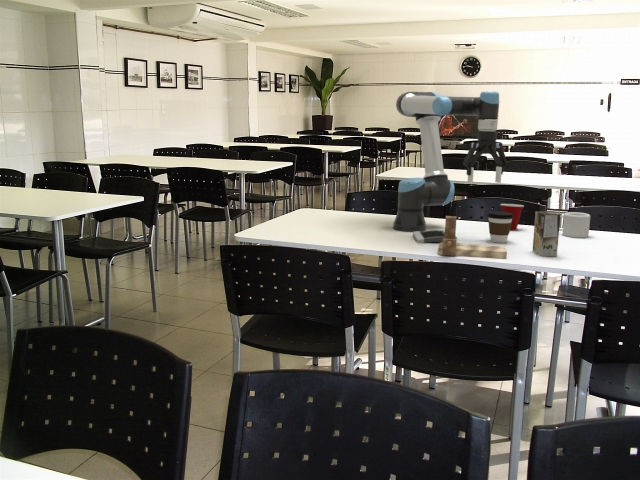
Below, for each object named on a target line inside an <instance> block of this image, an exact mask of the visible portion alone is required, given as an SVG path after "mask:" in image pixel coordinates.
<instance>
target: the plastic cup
mask: <svg viewBox="0 0 640 480" xmlns="http://www.w3.org/2000/svg"><path fill="white" fill-rule="evenodd" d="M499 205H500V208H501V212H509V213H512V214H513V216H514V218H513V219H512V221H511V222H512V223H511V227H510V231H516V230H517V229H518V226H519V223H520V217H521V214H522V211H523V208H524V207H525V205H522V204H515V203H500V204H499Z"/></svg>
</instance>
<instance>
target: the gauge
mask: <svg viewBox="0 0 640 480" xmlns="http://www.w3.org/2000/svg"><path fill="white" fill-rule="evenodd" d="M444 224H445V225H444V226H445V227H444V230H445V239H443V242H442V243H443V247H442V256H453V257H455V256H457V255H456V244H457V242H458V238H457V239H455V235H456V232H457V230H456V229H457V216H456V215H455V216H452V215H445V223H444ZM456 236H457V235H456Z"/></svg>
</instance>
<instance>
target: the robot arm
mask: <svg viewBox="0 0 640 480" xmlns="http://www.w3.org/2000/svg"><path fill="white" fill-rule="evenodd" d="M395 107H396V110H397V112H398V113H399V114H400V115H401V116H404V117H408V118H415V123H416V124H417V125H419V131H420V139H421V147H422V148H421V149H422V156H423V165H424V167H423V168H424V176H423V177H409V178H404V179H401V180H400V181H399V183H398V189H397V191H398V192H397V194H398V195H397V213H396V216H395V218H394V221H393V223H392V225H393V227H392V228H393V229H394V230H397V231H402V232H416V231H419V232H421V231H427V223H426V220H425V219H426V218H425V215H424V206H425V207H426V206H427V207H428V206H442V205H443V206H445V205H448V204H449V203H450V202H451V201H452V200H453V198H454V195H455V184H454V182H453V180H450V179H449V177H448V176H449V175H448V174H447V173H446V172H445V171H444V162H443V155H442V154H443V153H442V147H441V146H442V145H441V137H440V127H439V122H440V121H441V118H442V116H467V117H473V116H474V117H475V116H476V117H477V116H478V121H477V122H478V124H477V129H478V131H477V142H471V143H470V146H469V150H468V152H467V154H466V156H465V157H464V160H463V162H462V165H463V166H464V167H466V175H467V184H470V185H472V184H474V169H475V168H474V167H473V166H474V165H475V164H476V162H477V160H479V158H480V157H481V156H482V155H487V154H488V155H490V156H491V157H492V158H493V160H494V162H495V163H496V164H497V166H495V178H494V179H495V183H499V184H501V183H502V175H503V173H504V168H505V167H506V166H508V164H509V163H508V160H507V157H506V154H505V151H504V148H503V142H497V138H498V137H497V136H498V132H497V130H498V125H499V124H498V123H499V121H498V120H499V109H500V93H499V92H498V91H481V92H480V94H479V96H475V97H474V96H446V95H441V94H439V93H437V92H433V91H426V92H425V91H407V92H403V93H402V94H400V95H399V96H398V97H397V99H396V103H395Z"/></svg>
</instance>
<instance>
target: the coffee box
mask: <svg viewBox="0 0 640 480" xmlns="http://www.w3.org/2000/svg"><path fill="white" fill-rule="evenodd" d="M534 216H535V217H534V227H533V239H532V252H533V253H535V254H537V255H540V256H541V257H557V256H558V250H559V249H558V246H559V236H560V230H559V229H560V224H561V217H560V216H561V214H559V213H557V212H554V211H550V210H548V211H547V210H546V211H545V210H544V211H543V210H541V211H536V210H535V214H534Z"/></svg>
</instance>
